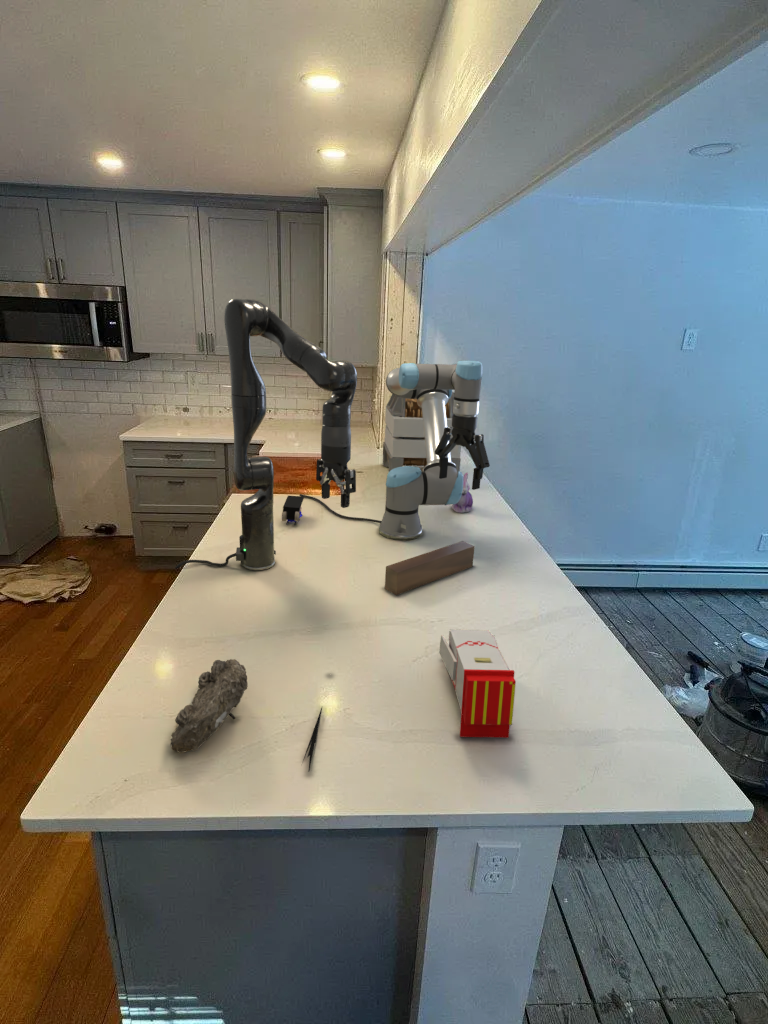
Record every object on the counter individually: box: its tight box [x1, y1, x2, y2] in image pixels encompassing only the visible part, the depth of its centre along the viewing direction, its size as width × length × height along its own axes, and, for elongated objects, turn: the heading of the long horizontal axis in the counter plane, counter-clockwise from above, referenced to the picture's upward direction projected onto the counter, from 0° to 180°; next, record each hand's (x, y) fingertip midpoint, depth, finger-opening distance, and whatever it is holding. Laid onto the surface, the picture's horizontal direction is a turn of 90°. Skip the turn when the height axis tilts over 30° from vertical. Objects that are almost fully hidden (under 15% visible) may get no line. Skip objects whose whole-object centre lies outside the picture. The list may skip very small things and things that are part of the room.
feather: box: [301, 673, 332, 771], centre depth 108 cm, size 2×28×2 cm
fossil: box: [170, 658, 249, 753], centre depth 106 cm, size 22×10×15 cm
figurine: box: [451, 472, 474, 514], centre depth 225 cm, size 9×10×15 cm
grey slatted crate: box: [381, 391, 462, 472], centre depth 268 cm, size 34×33×41 cm
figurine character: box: [281, 495, 305, 526], centre depth 206 cm, size 7×8×15 cm
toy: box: [438, 628, 517, 738], centre depth 117 cm, size 12×13×30 cm
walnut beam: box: [384, 540, 476, 596], centre depth 168 cm, size 5×32×7 cm, turn 131°
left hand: (335, 502), depth 149 cm, fingers open, 8 cm apart
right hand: (458, 483), depth 175 cm, fingers open, 13 cm apart
